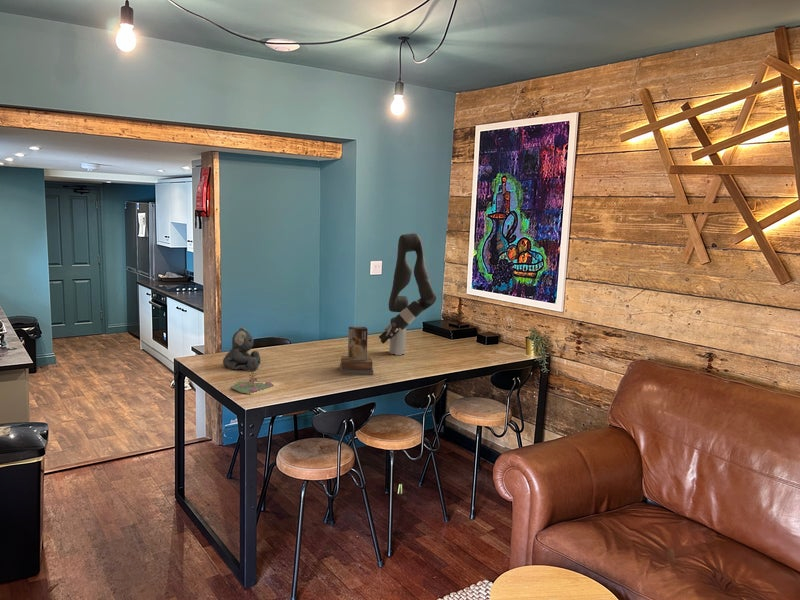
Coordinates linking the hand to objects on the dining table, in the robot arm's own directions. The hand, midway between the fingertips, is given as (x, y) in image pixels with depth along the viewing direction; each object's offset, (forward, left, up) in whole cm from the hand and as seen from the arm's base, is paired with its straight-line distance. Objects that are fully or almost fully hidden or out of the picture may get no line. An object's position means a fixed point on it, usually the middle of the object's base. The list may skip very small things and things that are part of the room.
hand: (380, 340), depth 301 cm
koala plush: (-5, -69, -16) cm, 71 cm away
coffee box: (0, -12, -10) cm, 15 cm away
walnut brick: (0, -12, -14) cm, 18 cm away
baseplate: (0, -12, -16) cm, 20 cm away
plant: (+29, -57, -17) cm, 66 cm away
